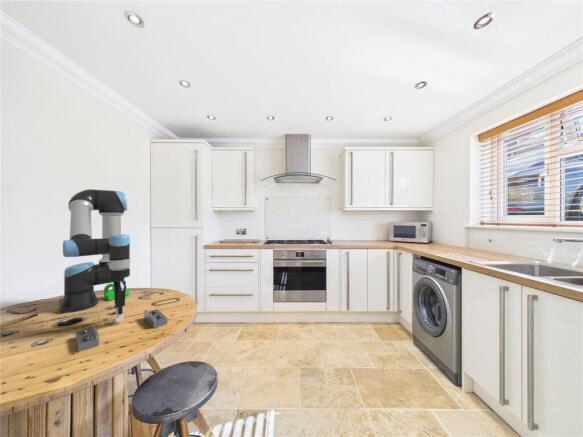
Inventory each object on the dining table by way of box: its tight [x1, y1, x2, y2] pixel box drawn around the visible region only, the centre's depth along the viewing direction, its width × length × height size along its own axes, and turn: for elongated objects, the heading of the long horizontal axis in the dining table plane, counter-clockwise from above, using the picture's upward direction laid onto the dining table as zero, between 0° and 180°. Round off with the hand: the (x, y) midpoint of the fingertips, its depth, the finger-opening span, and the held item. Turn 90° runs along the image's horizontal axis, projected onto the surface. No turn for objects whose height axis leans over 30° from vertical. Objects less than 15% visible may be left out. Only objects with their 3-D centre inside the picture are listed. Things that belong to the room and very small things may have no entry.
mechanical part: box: [103, 283, 131, 301], centre depth 137 cm, size 12×6×8 cm, turn 149°
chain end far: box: [143, 308, 168, 329], centre depth 103 cm, size 14×6×4 cm, turn 48°
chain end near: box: [75, 323, 100, 353], centre depth 85 cm, size 14×6×4 cm, turn 48°
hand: (119, 320), depth 100 cm, fingers closed
